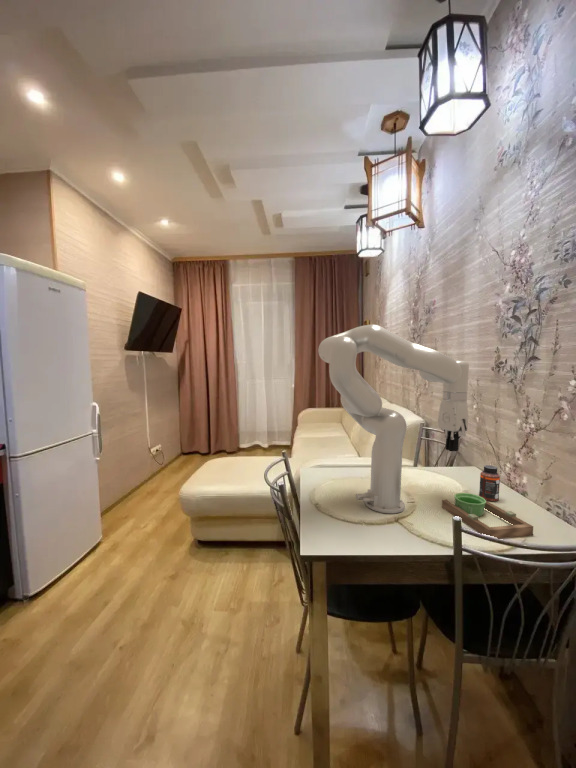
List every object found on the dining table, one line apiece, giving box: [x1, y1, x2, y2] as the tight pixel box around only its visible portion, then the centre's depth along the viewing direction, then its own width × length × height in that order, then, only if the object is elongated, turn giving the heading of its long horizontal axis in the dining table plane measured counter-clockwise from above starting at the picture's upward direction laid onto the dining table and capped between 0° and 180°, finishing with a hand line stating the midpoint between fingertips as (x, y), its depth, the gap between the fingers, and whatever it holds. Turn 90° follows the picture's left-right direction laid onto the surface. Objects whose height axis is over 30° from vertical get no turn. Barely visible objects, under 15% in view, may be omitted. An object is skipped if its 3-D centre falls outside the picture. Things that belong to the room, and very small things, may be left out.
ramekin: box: [453, 492, 487, 517], centre depth 112 cm, size 9×9×4 cm
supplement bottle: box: [478, 464, 501, 502], centre depth 123 cm, size 6×6×11 cm
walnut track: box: [441, 499, 534, 539], centre depth 106 cm, size 14×20×3 cm
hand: (451, 450), depth 121 cm, fingers closed
